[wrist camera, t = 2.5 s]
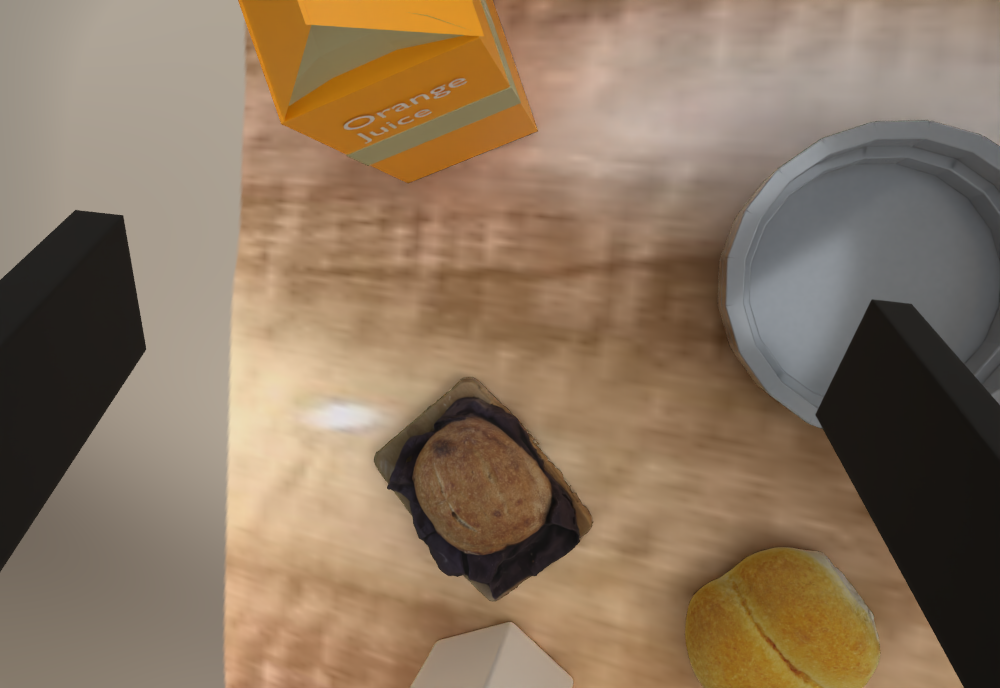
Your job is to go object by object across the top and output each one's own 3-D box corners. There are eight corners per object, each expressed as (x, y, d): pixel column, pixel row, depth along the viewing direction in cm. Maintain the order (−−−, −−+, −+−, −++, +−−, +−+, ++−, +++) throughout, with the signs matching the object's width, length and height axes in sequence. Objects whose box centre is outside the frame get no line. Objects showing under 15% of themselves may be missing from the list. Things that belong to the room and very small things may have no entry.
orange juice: (406, 185, 40) (184, 84, 21) (352, 30, 40) (78, -220, 20) (542, 130, 39) (443, -35, 19) (486, -31, 39) (329, -364, 19)
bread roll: (653, 613, 39) (655, 648, 35) (795, 514, 38) (813, 540, 34) (755, 740, 39) (767, 790, 35) (902, 646, 37) (933, 687, 33)
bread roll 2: (367, 458, 42) (341, 473, 38) (480, 365, 40) (464, 372, 37) (485, 610, 41) (469, 640, 37) (605, 522, 39) (601, 544, 36)
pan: (911, 78, 35) (945, 52, 31) (1088, 321, 35) (1146, 325, 31) (661, 251, 38) (664, 247, 34) (822, 480, 37) (844, 502, 33)
